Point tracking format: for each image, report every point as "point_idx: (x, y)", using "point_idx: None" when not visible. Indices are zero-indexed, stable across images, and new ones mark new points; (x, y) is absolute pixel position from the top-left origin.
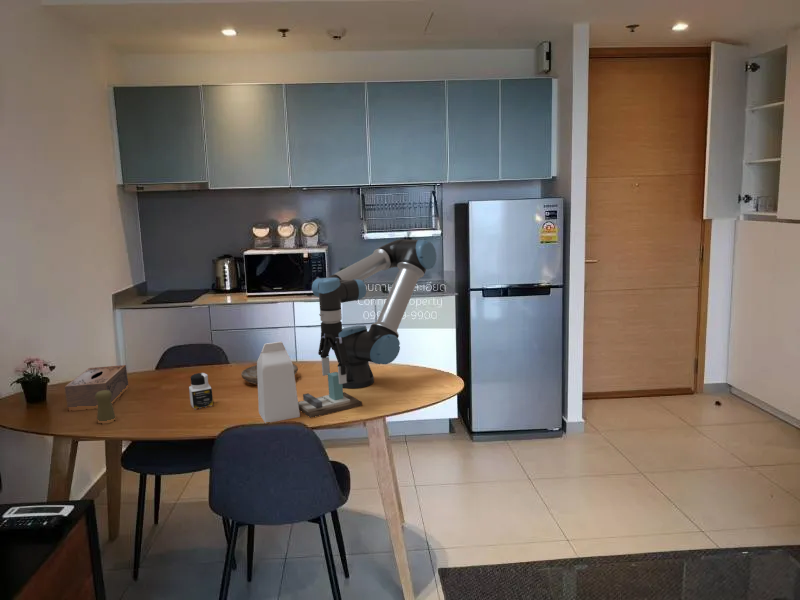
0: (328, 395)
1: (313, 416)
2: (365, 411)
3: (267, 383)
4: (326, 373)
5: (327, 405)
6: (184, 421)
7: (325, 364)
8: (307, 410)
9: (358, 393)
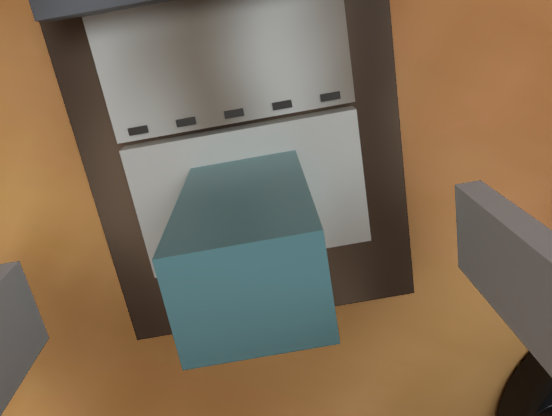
0: (344, 156)
1: None
2: None
3: None
4: (465, 234)
5: (101, 80)
6: None
7: (525, 288)
8: None
9: (400, 368)
